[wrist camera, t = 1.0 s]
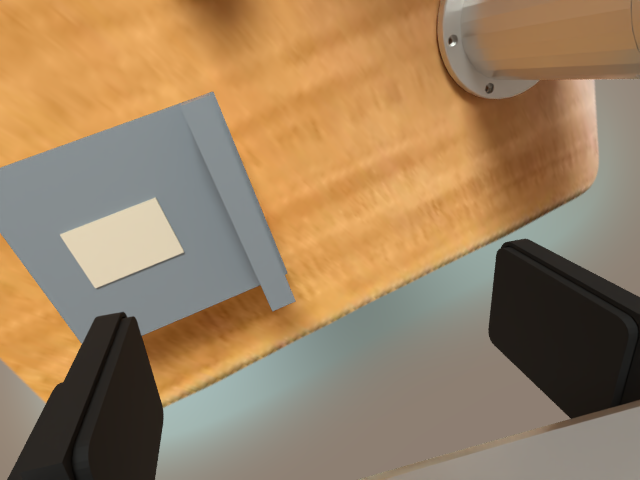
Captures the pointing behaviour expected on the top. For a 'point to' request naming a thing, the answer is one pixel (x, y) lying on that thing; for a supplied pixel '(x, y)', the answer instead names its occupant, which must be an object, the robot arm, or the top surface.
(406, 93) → the top surface
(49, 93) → the top surface
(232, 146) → the mailer lid
